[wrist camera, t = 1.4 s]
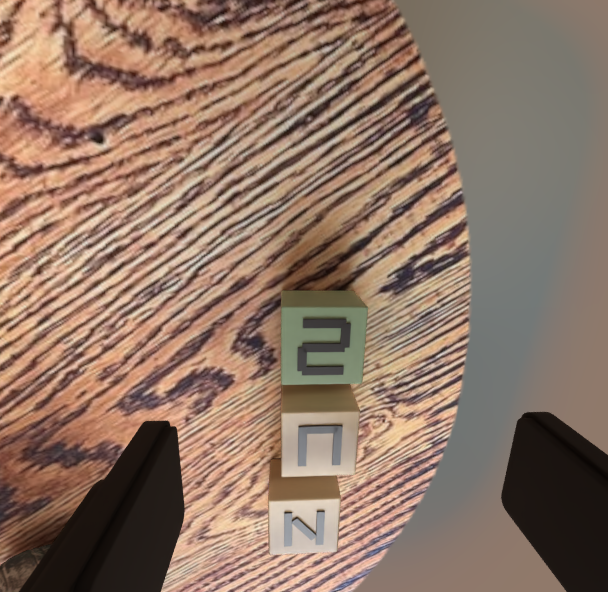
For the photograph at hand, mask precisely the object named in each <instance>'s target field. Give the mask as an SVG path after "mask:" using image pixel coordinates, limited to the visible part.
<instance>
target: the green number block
mask: <svg viewBox="0 0 608 592" xmlns="http://www.w3.org/2000/svg"><path fill="white" fill-rule="evenodd" d="M367 313H368V307H367V305H366V304H365V303H364V302H363V301H362V300H361V298H360V297H359V296H358V295H357V294H356V293H355V291H294V290H283V291H282V292H281V384H282V385H303V384H361V383H362V379H363V366H364V353H365V340H366V327H367Z"/></svg>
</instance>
